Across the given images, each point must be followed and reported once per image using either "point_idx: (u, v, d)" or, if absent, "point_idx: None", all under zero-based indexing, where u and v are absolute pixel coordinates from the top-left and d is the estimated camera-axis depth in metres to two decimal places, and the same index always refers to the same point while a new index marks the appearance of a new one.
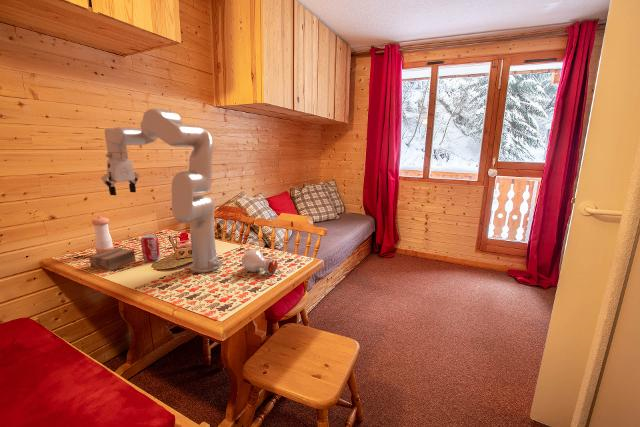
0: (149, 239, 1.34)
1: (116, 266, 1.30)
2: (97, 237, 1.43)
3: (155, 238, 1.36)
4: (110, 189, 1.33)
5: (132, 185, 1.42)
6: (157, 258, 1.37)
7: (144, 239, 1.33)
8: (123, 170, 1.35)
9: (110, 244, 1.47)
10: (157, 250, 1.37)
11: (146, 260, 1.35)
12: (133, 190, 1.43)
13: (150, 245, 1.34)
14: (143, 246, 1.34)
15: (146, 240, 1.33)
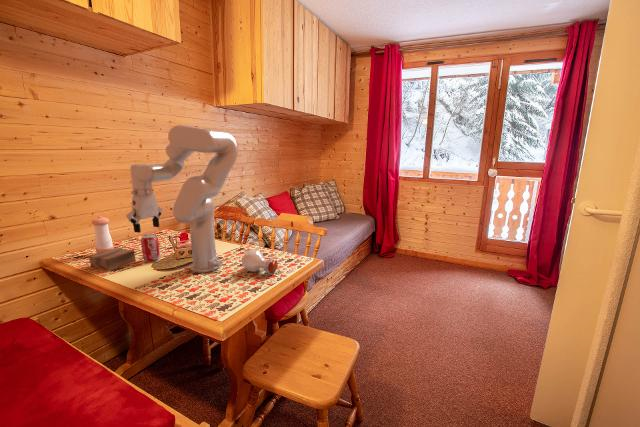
0: (149, 239, 1.34)
1: (116, 266, 1.30)
2: (97, 237, 1.43)
3: (155, 238, 1.36)
4: (135, 226, 1.30)
5: (156, 220, 1.39)
6: (157, 258, 1.37)
7: (144, 239, 1.33)
8: (148, 206, 1.32)
9: (110, 244, 1.47)
10: (157, 250, 1.37)
11: (146, 260, 1.35)
12: (156, 225, 1.39)
13: (150, 245, 1.34)
14: (143, 246, 1.34)
15: (146, 240, 1.33)
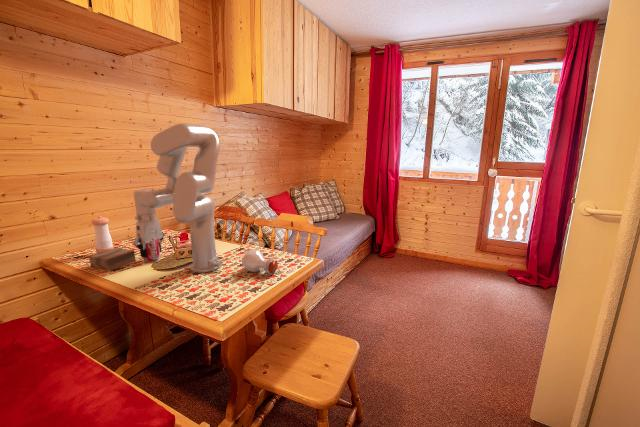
0: None
1: (116, 266, 1.30)
2: (97, 237, 1.43)
3: (155, 238, 1.36)
4: (141, 252, 1.33)
5: None
6: (157, 258, 1.37)
7: None
8: (152, 231, 1.34)
9: (110, 244, 1.47)
10: (157, 250, 1.37)
11: (146, 260, 1.35)
12: None
13: (150, 245, 1.34)
14: None
15: None
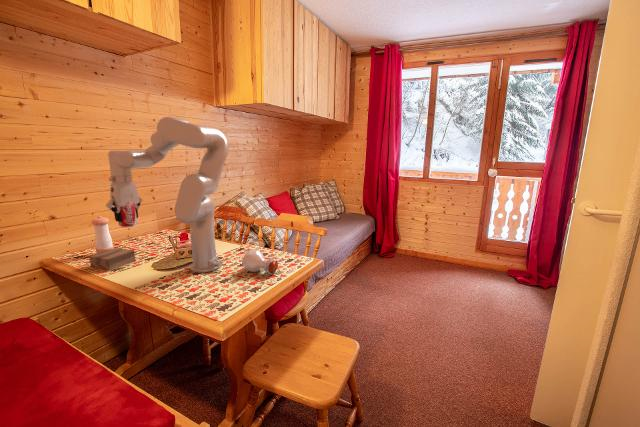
0: None
1: (116, 266, 1.30)
2: (97, 237, 1.43)
3: (131, 202, 1.30)
4: (116, 215, 1.28)
5: None
6: (133, 223, 1.32)
7: None
8: (127, 194, 1.29)
9: (110, 244, 1.47)
10: (133, 215, 1.31)
11: (121, 225, 1.30)
12: None
13: (125, 209, 1.29)
14: None
15: None
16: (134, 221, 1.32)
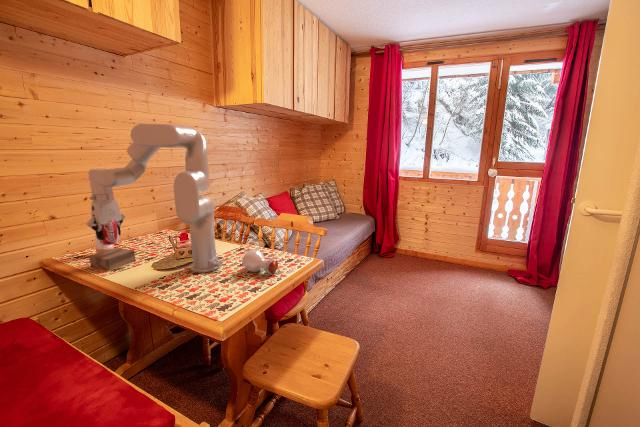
0: None
1: (116, 266, 1.30)
2: None
3: (112, 220, 1.30)
4: (97, 234, 1.27)
5: None
6: (115, 241, 1.31)
7: None
8: (108, 212, 1.28)
9: None
10: (115, 232, 1.31)
11: (103, 242, 1.29)
12: (118, 233, 1.35)
13: (107, 227, 1.28)
14: None
15: None
16: (116, 238, 1.32)
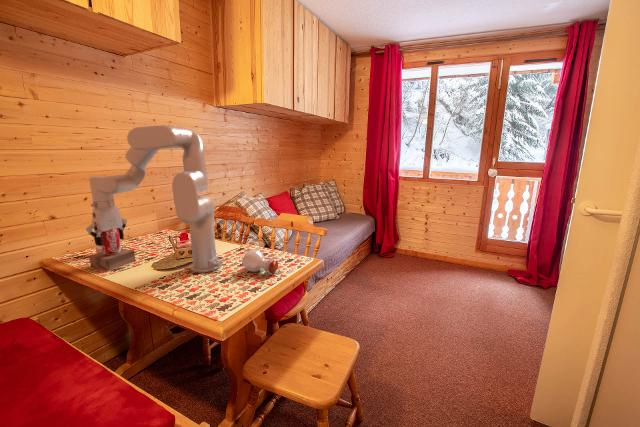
0: (108, 231, 1.29)
1: (116, 266, 1.30)
2: None
3: (115, 230, 1.31)
4: (96, 240, 1.27)
5: (120, 232, 1.36)
6: (117, 251, 1.32)
7: None
8: (109, 219, 1.29)
9: None
10: (117, 242, 1.32)
11: (105, 252, 1.30)
12: (121, 237, 1.36)
13: (109, 237, 1.29)
14: (102, 238, 1.29)
15: (105, 232, 1.28)
16: (118, 248, 1.33)
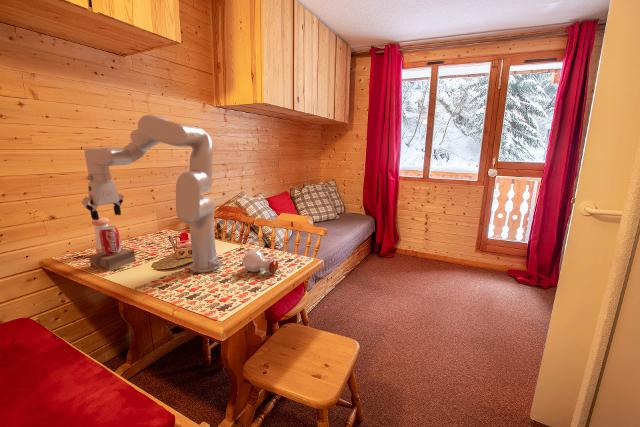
0: (107, 231, 1.29)
1: (116, 266, 1.30)
2: (97, 237, 1.43)
3: (114, 230, 1.31)
4: (92, 213, 1.24)
5: (117, 207, 1.33)
6: (117, 251, 1.32)
7: (102, 231, 1.28)
8: (106, 192, 1.26)
9: None
10: (117, 242, 1.32)
11: (105, 253, 1.30)
12: (118, 213, 1.34)
13: (109, 237, 1.29)
14: (101, 238, 1.29)
15: (104, 232, 1.28)
16: (118, 248, 1.33)
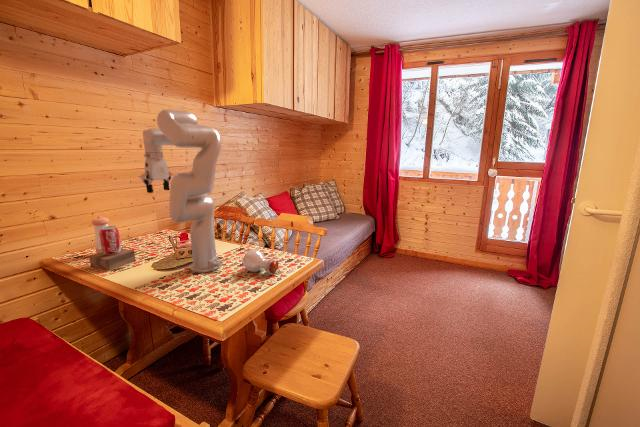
0: (108, 231, 1.29)
1: (116, 266, 1.30)
2: (97, 237, 1.43)
3: (114, 230, 1.31)
4: (147, 187, 1.41)
5: (166, 183, 1.50)
6: (117, 251, 1.32)
7: (102, 231, 1.28)
8: (159, 169, 1.44)
9: None
10: (117, 242, 1.32)
11: (105, 253, 1.30)
12: (167, 188, 1.51)
13: (109, 237, 1.29)
14: (101, 238, 1.29)
15: (104, 232, 1.28)
16: (118, 248, 1.33)
